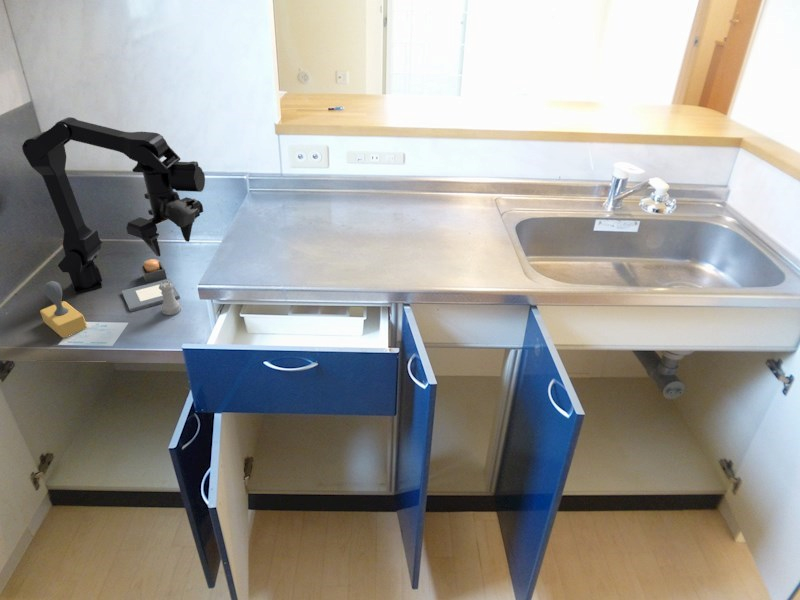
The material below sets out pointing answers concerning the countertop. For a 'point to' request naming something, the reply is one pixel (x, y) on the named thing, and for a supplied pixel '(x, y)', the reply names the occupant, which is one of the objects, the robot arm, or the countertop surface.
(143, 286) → the slate board
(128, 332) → the countertop surface
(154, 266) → the button
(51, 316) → the rubber stamp
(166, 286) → the rook chess piece
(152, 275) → the button housing
